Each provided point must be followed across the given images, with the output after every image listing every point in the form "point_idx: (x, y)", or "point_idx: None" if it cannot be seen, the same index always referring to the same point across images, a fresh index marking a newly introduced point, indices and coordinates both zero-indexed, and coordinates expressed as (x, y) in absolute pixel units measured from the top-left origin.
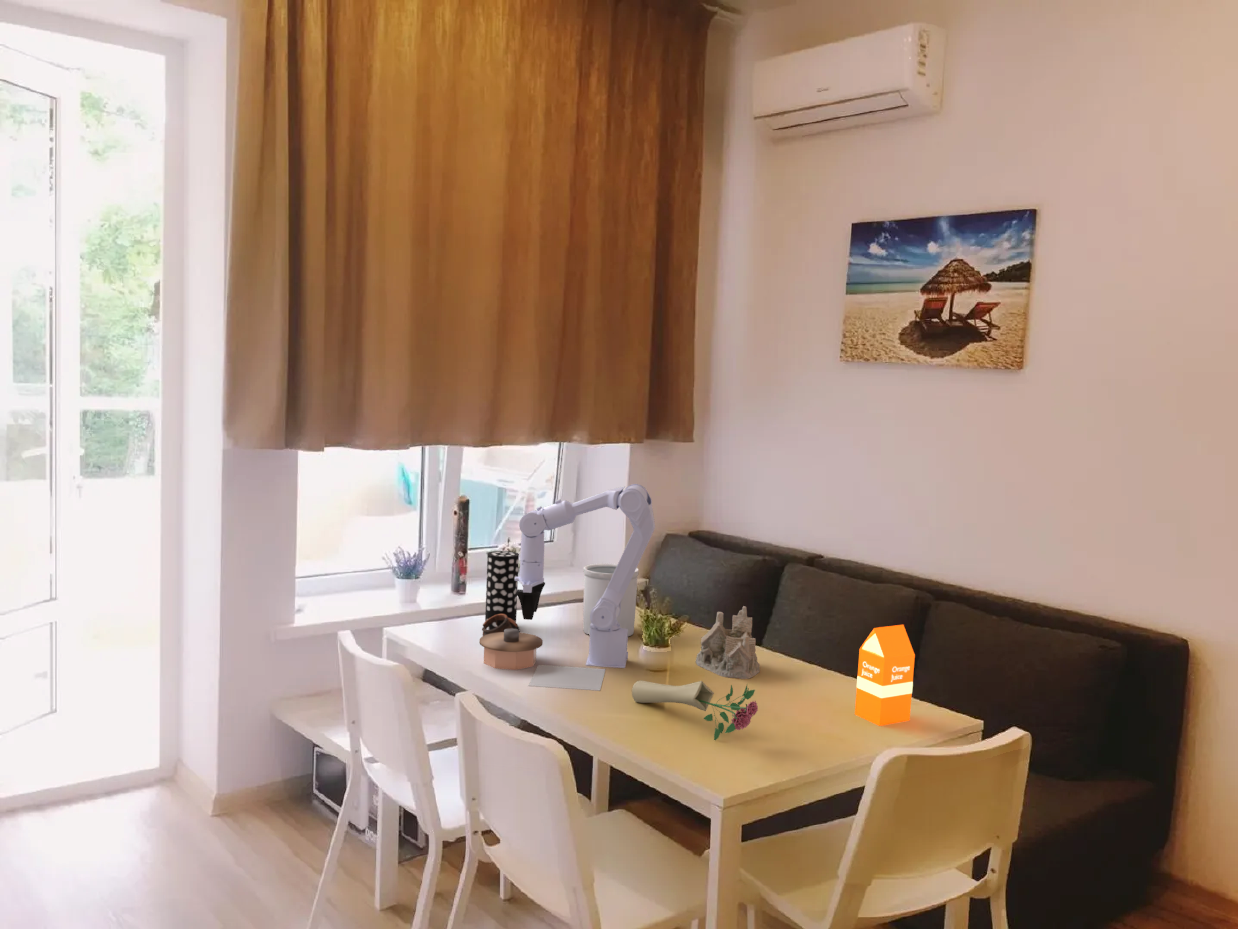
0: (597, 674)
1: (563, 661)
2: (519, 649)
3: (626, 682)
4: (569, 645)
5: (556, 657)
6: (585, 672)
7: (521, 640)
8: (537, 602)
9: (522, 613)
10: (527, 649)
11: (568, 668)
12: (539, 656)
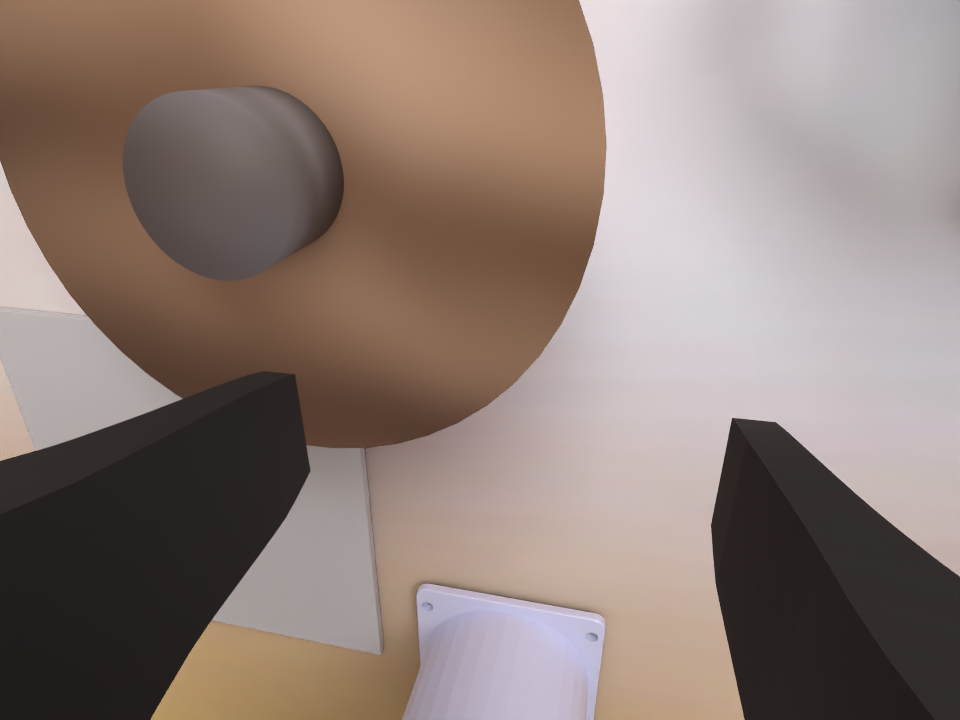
0: (286, 614)
1: (499, 482)
2: (63, 277)
3: (257, 689)
4: (911, 537)
5: (580, 447)
6: (296, 572)
7: (301, 274)
8: (737, 666)
9: (198, 394)
10: (115, 336)
11: (333, 505)
12: (586, 340)
